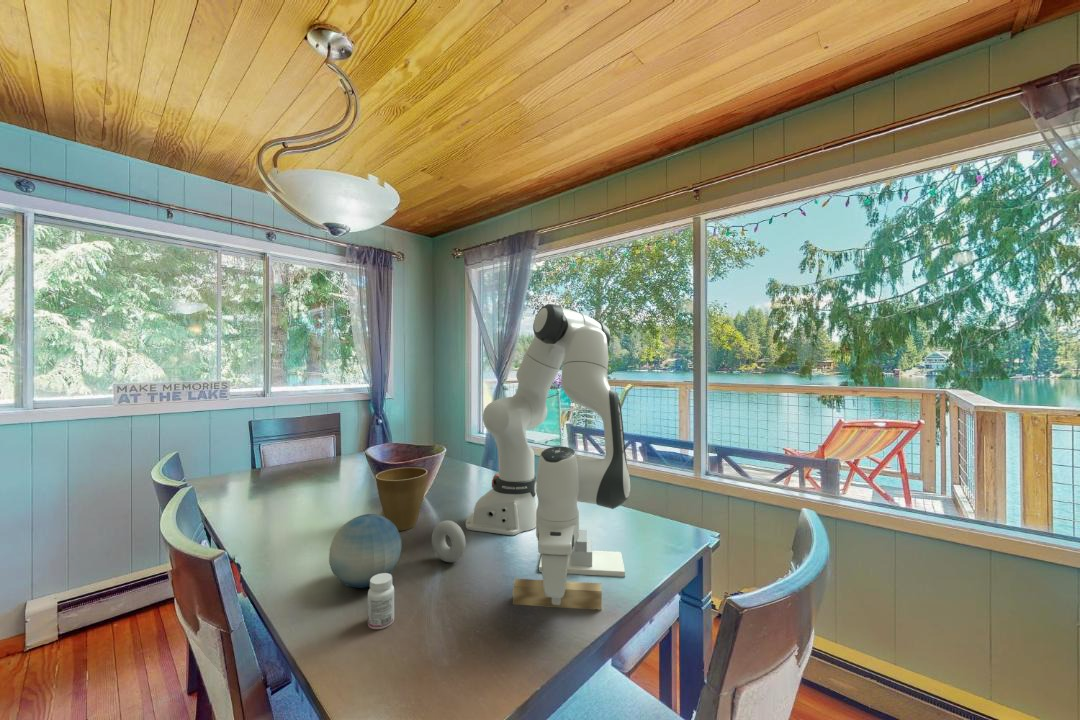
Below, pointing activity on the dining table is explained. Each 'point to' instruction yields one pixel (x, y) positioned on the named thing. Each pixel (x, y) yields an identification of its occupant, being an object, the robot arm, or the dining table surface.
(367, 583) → the decorative ball
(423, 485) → the plant pot
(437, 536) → the donut
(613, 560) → the fulcrum stand
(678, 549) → the dining table surface
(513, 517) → the robot arm
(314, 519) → the dining table surface
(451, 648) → the dining table surface
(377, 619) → the pill bottle
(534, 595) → the pine bar
